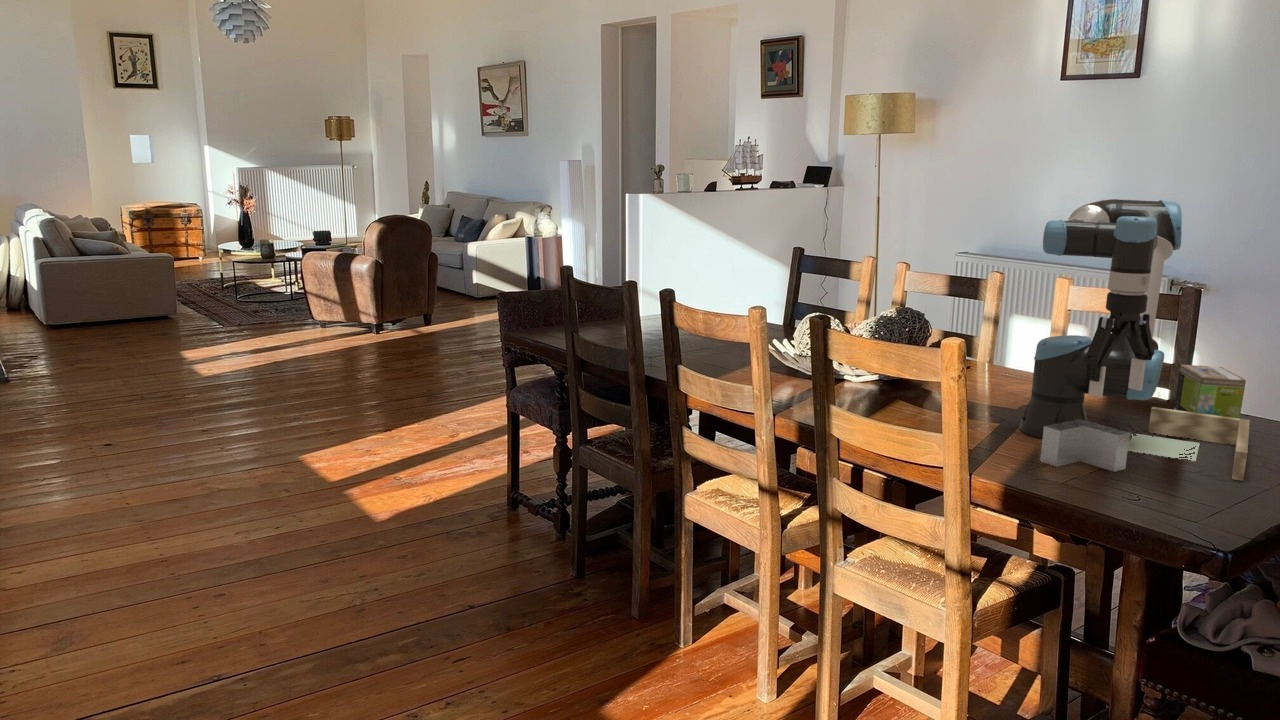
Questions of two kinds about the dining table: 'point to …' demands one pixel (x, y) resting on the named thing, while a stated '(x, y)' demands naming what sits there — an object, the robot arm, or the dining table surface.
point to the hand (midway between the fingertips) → (1115, 392)
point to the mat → (1163, 446)
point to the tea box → (1209, 391)
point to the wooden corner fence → (1205, 431)
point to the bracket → (1084, 445)
